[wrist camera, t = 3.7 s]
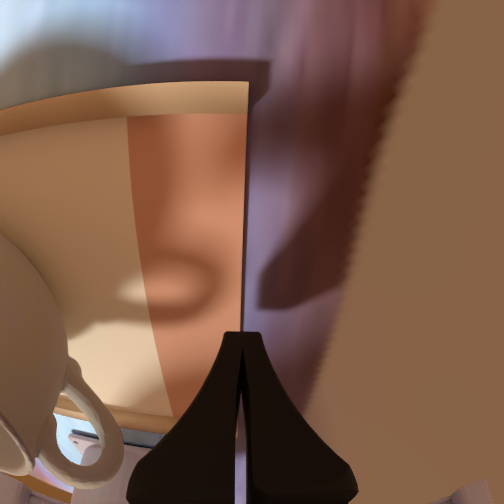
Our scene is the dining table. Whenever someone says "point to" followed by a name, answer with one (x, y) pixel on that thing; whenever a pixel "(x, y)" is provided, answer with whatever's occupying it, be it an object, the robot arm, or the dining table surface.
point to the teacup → (43, 381)
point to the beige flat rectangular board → (133, 233)
